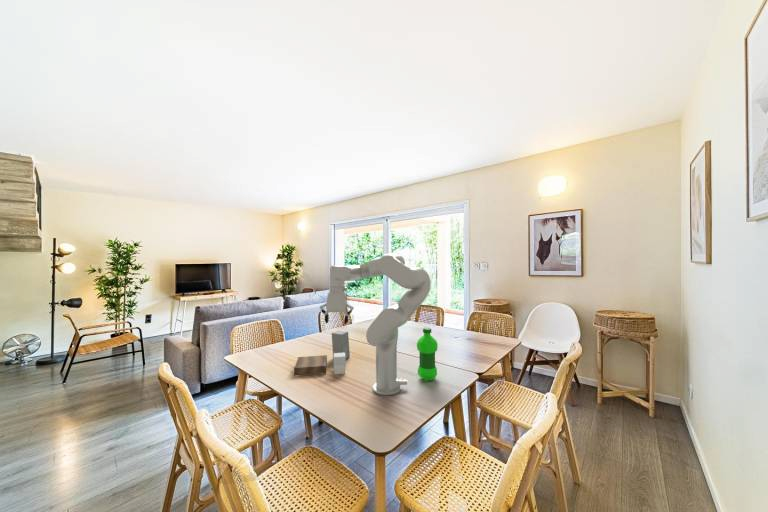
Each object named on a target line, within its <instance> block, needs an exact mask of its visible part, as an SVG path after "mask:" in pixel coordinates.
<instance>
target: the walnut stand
mask: <svg viewBox="0 0 768 512" xmlns="http://www.w3.org/2000/svg"><path fill="white" fill-rule="evenodd" d="M327 366H328V355H327V354H326V355H325V354H324V355H312V356H311V355H309V356H298V357H297V360H296V362H295V365H294V368H293V371H294V375H293V376H295V375H299V376H308V375H307V374H312V375H321V374H320V373H325V374H327V369H328V367H327Z"/></svg>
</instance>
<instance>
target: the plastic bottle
mask: <svg viewBox="0 0 768 512" xmlns="http://www.w3.org/2000/svg"><path fill="white" fill-rule="evenodd" d="M422 333H423V335H422V336H420V337H419V339H418V340H417V342H416V350H417V351H418V352H419V365H418V367H417V374H418V376H419V377H420V378H421V379H422V380H423V379H424V380H423V381H425V380H427V381H426V382H429V381H428V380H431V381H433V380H434V379H435V378H436V377H437V375H438V368H437V366H436V352H437V351H438V341H437V339H435V338H434V337H433V336H432V335H431V333H432V328H431V327H423V328H422ZM432 379H433V380H432Z"/></svg>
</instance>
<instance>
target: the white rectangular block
mask: <svg viewBox="0 0 768 512" xmlns="http://www.w3.org/2000/svg"><path fill="white" fill-rule="evenodd" d="M343 373H345V374H346V359H345V353H334V358H333V375H344V374H343Z"/></svg>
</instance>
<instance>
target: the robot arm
mask: <svg viewBox="0 0 768 512" xmlns="http://www.w3.org/2000/svg"><path fill="white" fill-rule="evenodd" d="M405 261H406V260H405V258H404V257H403V256H402V255H401V254H398V253H385V254H383V255H382V256H381V257H380V256H379V257H375V258H372V259H369V261H368V262H366V263H361V264H356V265H355V264H353V265H338V264H337V265H335V264H334V265H331V266H330V267H329V291H328V292H327V296H326V303H324V304H322V305H320V306H319V310H320V311H321V313H322V314H323V316H324V322H325V324H328V323H329V321H330V320H329V318H330V317H329V316H330V315H329V313H343V314H344V324H345V325H347V323H349V315H351V314H352V313H353V310H354V308H355V307H354V306H353V305H350V304H349V303H348V297H347V295H348V294H347V292H346V291H348V287H347V286H346V285H345V284H346V283H345V282H350V281H351V282H352V281H359V280H364V279H368V278H377V277H382V276H386V277H387V278H389V279H390V280H391V281H393V282H394V283H395V284H396V285H399V287H401V288H403V289H406V292H404V294H403V295H402V296H401V297H400V299H398V301H397V302H396V303H395V304H393V305H390V306H387V307H385V308H384V309H383V310H382V311H380V313H379V314H378V315H377V316H376V318H375V319H374V320H373V321H372V323H371V324H370V325H369V326H368V327H367V330H366V334H365V335H366V336H365V337H366V341H367V343H368V344H369V345H370V346H372V347H375V380H376V381H375V383H374V384H373V385H372V391H373V392H374V393H375V394H377V395H380V396H393V395H396V394H398V393H399V392H400V391H401V386H402V385H403V386H405V385H406V386H407V385H408V380H407V379H404V378H398V377H397V376H398V373H397V372H398V370H397V366H398V364H397V363H398V362H397V360H398V359H397V357H398V356H397V355H398V350H397V348H398V347H397V346H398V339H399V338H398V337H399V328H401V326H404V325H405V324H407V323H408V321H409V319H410V318H412V316H413V315H414V314H415V313H416V311H417V310H418V309H419V308H420V307H421V305H422V304H423V303H424V302H425V300H426V299H427V297H428V295H429V293H430V290H431V287H432V284H431V283H432V282H431V277H430V275H429V273H428V272H427V270H426V269H424V268H422V267H408V266H407V265H406V262H405ZM325 309H326V310H325ZM348 309H349V311H348Z"/></svg>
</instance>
